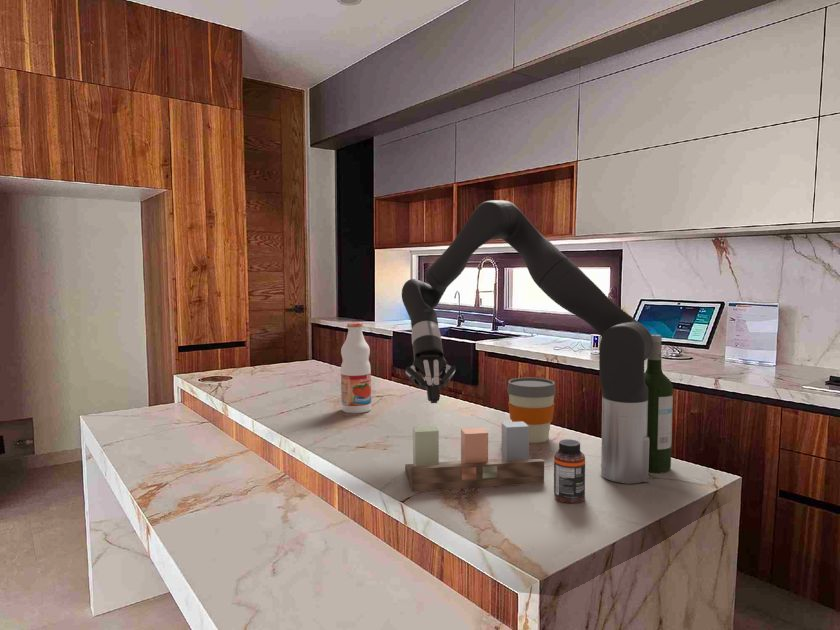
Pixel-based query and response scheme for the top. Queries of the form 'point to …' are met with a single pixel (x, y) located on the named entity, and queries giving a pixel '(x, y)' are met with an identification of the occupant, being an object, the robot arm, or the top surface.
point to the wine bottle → (658, 411)
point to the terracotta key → (474, 445)
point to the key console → (474, 474)
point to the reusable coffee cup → (532, 405)
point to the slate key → (515, 441)
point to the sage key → (425, 446)
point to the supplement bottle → (569, 472)
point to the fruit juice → (355, 371)
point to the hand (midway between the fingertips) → (434, 401)
